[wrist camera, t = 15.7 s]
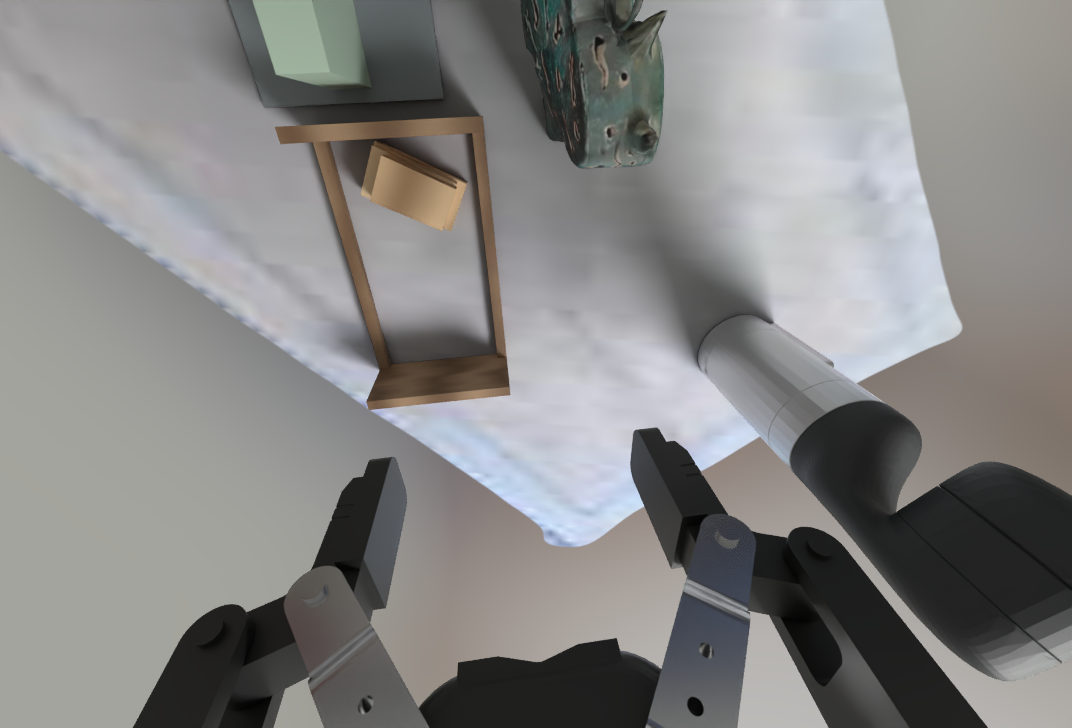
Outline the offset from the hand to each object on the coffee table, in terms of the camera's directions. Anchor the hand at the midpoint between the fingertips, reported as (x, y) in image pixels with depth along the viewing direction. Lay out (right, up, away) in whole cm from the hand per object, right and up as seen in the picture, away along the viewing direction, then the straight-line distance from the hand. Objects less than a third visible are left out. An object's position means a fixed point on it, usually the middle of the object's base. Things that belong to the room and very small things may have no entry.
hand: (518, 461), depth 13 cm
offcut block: (-10, +19, +23) cm, 32 cm away
